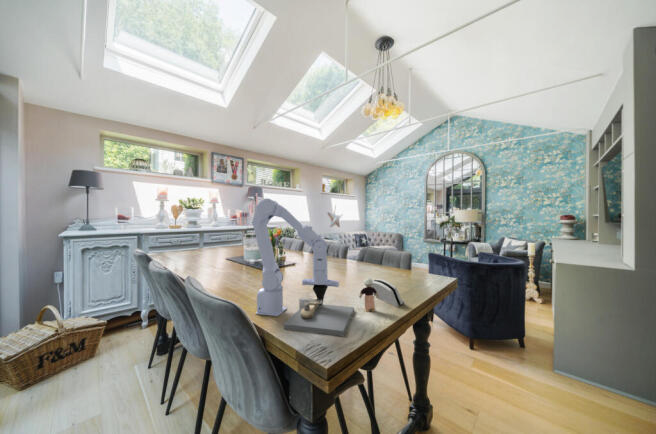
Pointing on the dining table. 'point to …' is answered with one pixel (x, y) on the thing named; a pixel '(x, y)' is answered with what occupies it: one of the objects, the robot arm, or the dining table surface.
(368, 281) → the grandmother figurine
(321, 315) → the board
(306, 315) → the link
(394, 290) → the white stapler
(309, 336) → the dining table surface
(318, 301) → the keeper
